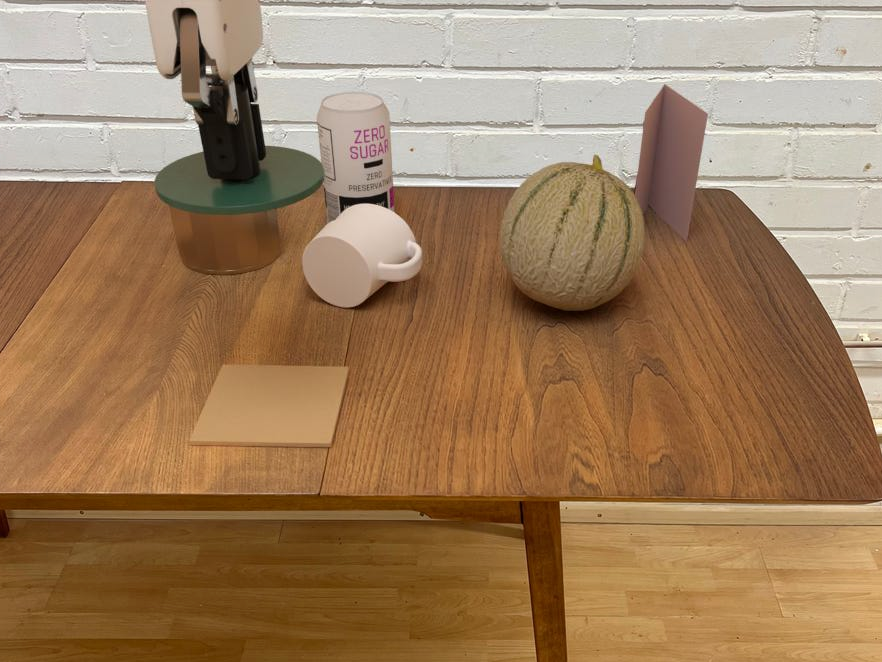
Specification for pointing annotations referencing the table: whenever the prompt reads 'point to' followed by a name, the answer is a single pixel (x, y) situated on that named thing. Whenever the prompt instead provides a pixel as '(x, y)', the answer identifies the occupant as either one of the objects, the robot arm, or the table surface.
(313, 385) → the cork mat
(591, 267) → the cantaloupe
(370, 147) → the supplement can
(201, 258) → the tin
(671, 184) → the greeting card
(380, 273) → the mug
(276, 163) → the tin lid
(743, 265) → the table surface
